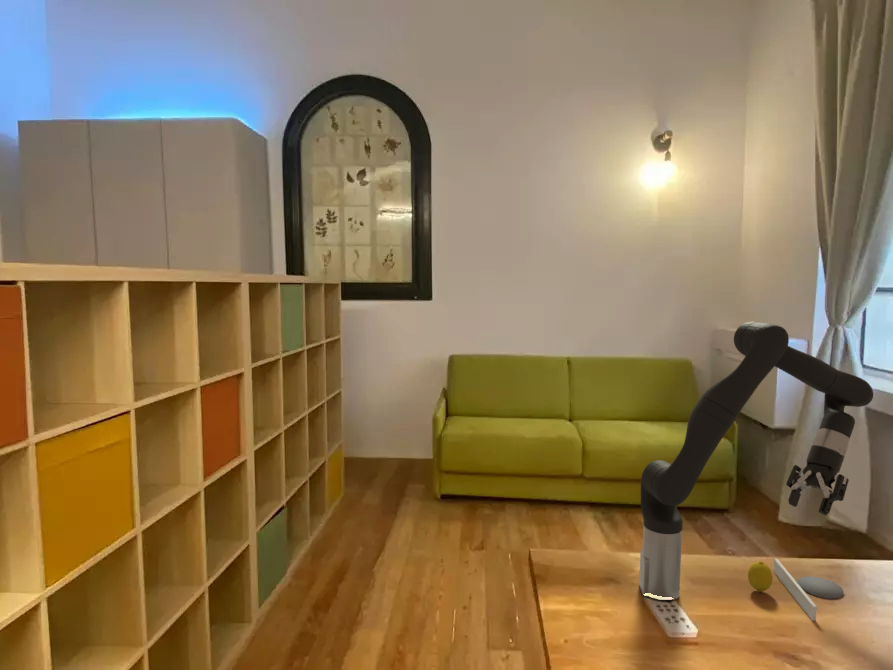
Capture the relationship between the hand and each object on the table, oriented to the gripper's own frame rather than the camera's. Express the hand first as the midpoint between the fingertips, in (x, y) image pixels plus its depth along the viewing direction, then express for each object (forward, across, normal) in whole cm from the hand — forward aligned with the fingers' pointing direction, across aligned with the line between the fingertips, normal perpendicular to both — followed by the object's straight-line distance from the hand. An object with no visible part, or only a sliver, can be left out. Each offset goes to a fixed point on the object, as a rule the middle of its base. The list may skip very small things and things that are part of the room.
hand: (807, 509), depth 156 cm
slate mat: (+16, -2, +15) cm, 22 cm away
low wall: (+20, -2, +7) cm, 22 cm away
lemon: (+24, -6, +1) cm, 24 cm away
